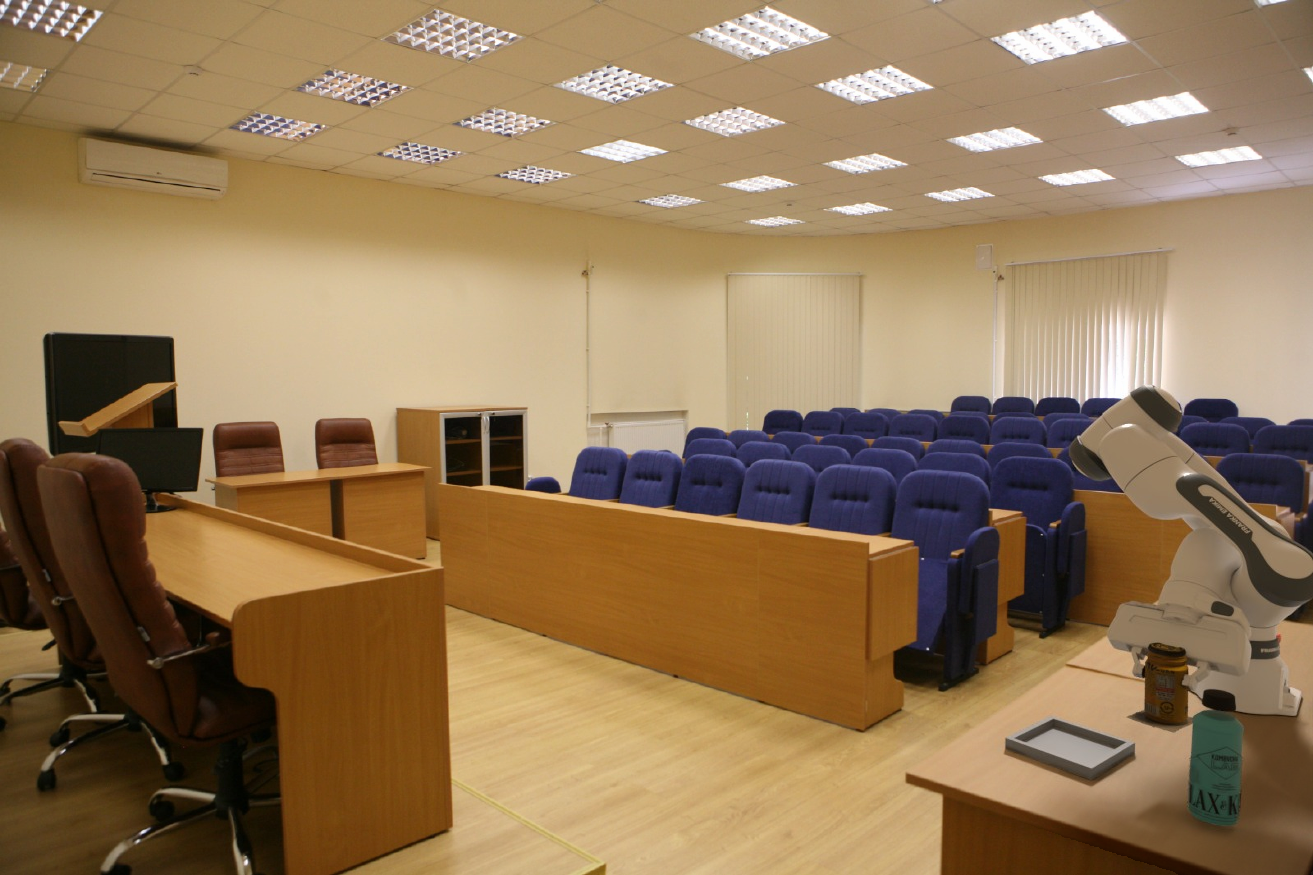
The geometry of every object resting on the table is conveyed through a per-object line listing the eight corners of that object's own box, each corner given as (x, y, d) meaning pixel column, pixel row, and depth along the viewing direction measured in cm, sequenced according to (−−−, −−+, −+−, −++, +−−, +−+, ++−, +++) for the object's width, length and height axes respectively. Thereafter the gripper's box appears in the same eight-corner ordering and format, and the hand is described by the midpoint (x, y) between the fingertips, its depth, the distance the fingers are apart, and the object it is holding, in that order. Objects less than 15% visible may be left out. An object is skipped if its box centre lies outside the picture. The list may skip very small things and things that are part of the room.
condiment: (1199, 720, 134) (1200, 647, 134) (1173, 733, 129) (1174, 658, 129) (1151, 707, 140) (1152, 637, 140) (1125, 719, 136) (1126, 646, 135)
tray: (1050, 726, 158) (1050, 715, 158) (1134, 753, 146) (1135, 742, 146) (1005, 748, 148) (1005, 737, 148) (1091, 780, 136) (1091, 768, 136)
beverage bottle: (1176, 814, 125) (1181, 684, 124) (1217, 812, 126) (1222, 683, 124) (1208, 838, 119) (1213, 701, 117) (1252, 836, 119) (1257, 699, 118)
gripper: (1116, 588, 146) (1089, 655, 141) (1254, 612, 130) (1230, 688, 124) (1127, 609, 149) (1101, 675, 144) (1263, 634, 133) (1240, 710, 128)
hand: (1162, 681), depth 134 cm, fingers closed on condiment, 6 cm apart
